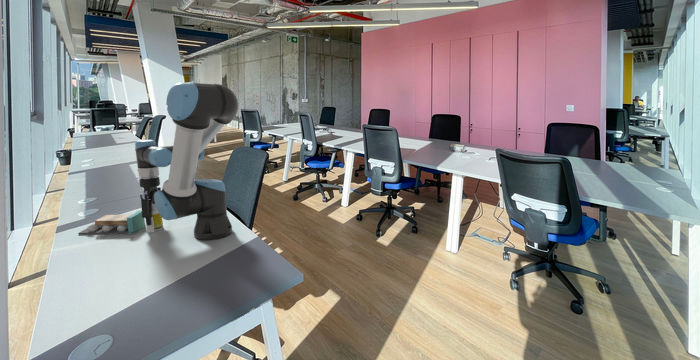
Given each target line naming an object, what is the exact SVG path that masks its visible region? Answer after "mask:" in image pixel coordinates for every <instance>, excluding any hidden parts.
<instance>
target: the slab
mask: <svg viewBox="0 0 700 360" xmlns="http://www.w3.org/2000/svg"><path fill="white" fill-rule="evenodd" d="M131 215H132V214H105V215H103V216H101V217H99V218H97V219H95V220H94V223H95V225H128V224H127V217H129V216H131Z"/></svg>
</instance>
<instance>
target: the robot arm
mask: <svg viewBox="0 0 700 360" xmlns="http://www.w3.org/2000/svg"><path fill="white" fill-rule="evenodd" d="M165 103H166V104H165V105H166V110H167V114H168V116H169V117H170V119H172V120H171V121H172V123H174V124H175V132H174V140H173V145H166V146H158V145H157V144H156V141H155V140H154V139H140V140H136V141H135V143H134V144H135V145H134V148H135V149H134V151H135V157H136V164H137V173H138V177H139V179H138V182H139V187H140V188H143V193H142V194H140V195H139V198H140V202H141V203H140V204H141V211H142V218H144V219H145V226H146V232H147V233H156V231H155V230H154V221H153V217H152V204H155V205H156V208H157V210H158V212H159V214H160V215H161V217H162V220H165V221H172V220H173V221H174V220H178V219H181V218H182V219H183V218H185V217H189V216H193V215H196V221H195V224H194V229H193V237H194V238H195V239H199V240H203V241H206V240H207V241H210V240H211V239H213V240H218V239H217V238H219V239H222V237H223V238H226V237H228V236H230V235H232V233H233V226H232V223H231V221H230V219H229V217H228V212H227V195H226V194H227V193H226V186H225V182H224V181H222V180H219V179H214V178H213V179H211V178H200V179H199V178H198V179H195V178H196V172H197V165H198V162H200V161H202V160H203V159H204V157H205V154H206V153H205V149H206V148H207V146H208V145H209V144H210V143H211V141H213V139H214V138H215V137H216V136H217V134H219V132H220V131H221V130H222V129H223V128H224V126H225V125H229V124H230V123H231V122H233V120H234V119H235V117H236V116H237V113H238V112H239V101H238V98H237V96H236V94H235V92H234V91H233V90H232V89H231V88H229V87H228V86H226V85H223V84H220V83H199V82H198V83H197V82H191V81H189V82H178V83H175V84H174V85H172V86H171V87H170V89H169V91H168V92H167V96H166V102H165ZM166 167H170V168H169V173H168V179H166V180H165V181H164V182H163V184H162V187H160V186H161V181H160V180H161V179H160V177H159V176H160V171H159V168H166ZM229 234H230V235H229ZM227 235H228V236H227ZM225 236H226V237H225Z"/></svg>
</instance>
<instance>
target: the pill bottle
mask: <svg viewBox="0 0 700 360" xmlns="http://www.w3.org/2000/svg"><path fill="white" fill-rule="evenodd" d="M152 217H153V221H154V230H155V232H159V231H160V230H161V231H162V230H163V228H164V224H163V223H164V222H163V218H162V217H161V215H160V214H159V212H158V210H157V208H156V205H155V204H152Z"/></svg>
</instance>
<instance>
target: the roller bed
mask: <svg viewBox="0 0 700 360" xmlns="http://www.w3.org/2000/svg"><path fill="white" fill-rule="evenodd" d="M130 215H131V216H129V217H127V224H128V225H95V222H94V223H92V224H90V225H89V226H87V227H86V228H84V229H83V230H82V231H80V232H78V233H77V234H78V236H79V235H83V236H84V235H87V236H89V235H134V234H136V233H137V232H139V231H140V230H141V229H143V228H145V226H146V219H145V218H142V210H137V211H136V212H134V213H131V214H130Z"/></svg>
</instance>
